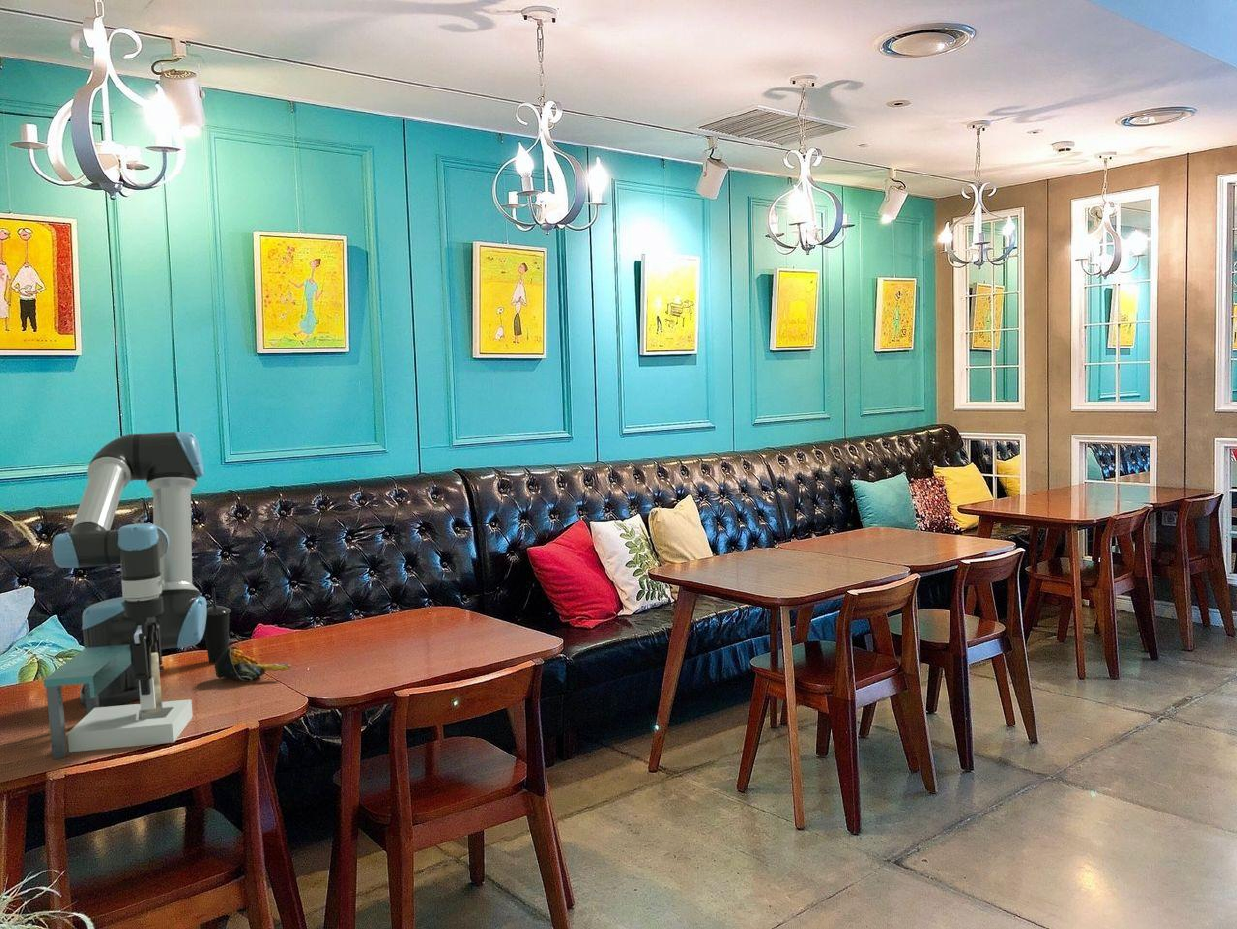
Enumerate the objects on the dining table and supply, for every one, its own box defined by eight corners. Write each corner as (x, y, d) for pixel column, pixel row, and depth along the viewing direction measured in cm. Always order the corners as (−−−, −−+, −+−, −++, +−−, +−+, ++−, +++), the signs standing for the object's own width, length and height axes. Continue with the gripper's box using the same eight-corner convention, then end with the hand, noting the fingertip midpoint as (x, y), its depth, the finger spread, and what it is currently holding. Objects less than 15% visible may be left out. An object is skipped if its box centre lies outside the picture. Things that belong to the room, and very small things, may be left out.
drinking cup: (197, 665, 260) (191, 590, 258) (213, 657, 268) (208, 584, 266) (223, 665, 259) (218, 590, 257) (239, 657, 266) (234, 584, 265)
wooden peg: (144, 708, 211) (140, 653, 210) (164, 706, 212) (160, 651, 211) (139, 714, 207) (134, 658, 206) (159, 712, 208) (155, 656, 207)
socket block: (95, 725, 215) (94, 707, 215) (192, 716, 219) (191, 699, 219) (69, 752, 200) (67, 733, 199) (173, 742, 203) (172, 723, 203)
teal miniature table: (92, 720, 219) (86, 647, 217) (135, 716, 220) (129, 644, 219) (50, 760, 195) (43, 679, 194) (99, 756, 197) (92, 675, 196)
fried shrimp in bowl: (219, 655, 252) (286, 629, 253) (230, 696, 248) (298, 670, 250) (204, 651, 243) (273, 624, 244) (215, 694, 240) (285, 666, 241)
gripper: (150, 604, 200) (159, 716, 202) (172, 587, 216) (180, 691, 218) (110, 607, 198) (120, 720, 200) (136, 590, 215) (144, 694, 217)
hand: (151, 705), depth 209 cm, fingers closed on wooden peg, 4 cm apart
